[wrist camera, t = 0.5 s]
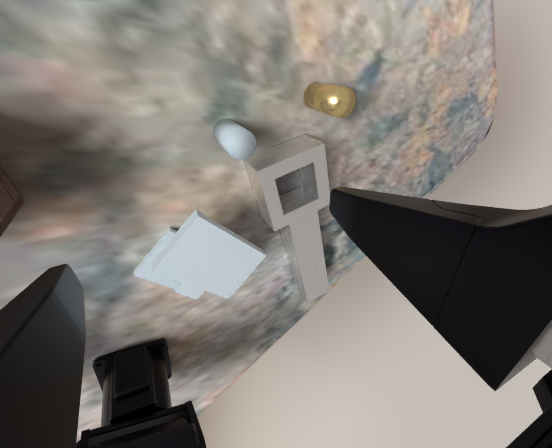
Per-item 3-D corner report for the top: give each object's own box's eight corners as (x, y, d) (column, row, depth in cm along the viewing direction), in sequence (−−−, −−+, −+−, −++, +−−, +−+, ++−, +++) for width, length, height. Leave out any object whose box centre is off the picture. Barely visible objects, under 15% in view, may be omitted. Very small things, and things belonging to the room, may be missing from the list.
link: (243, 159, 22) (257, 171, 20) (305, 133, 24) (324, 142, 21) (284, 291, 33) (296, 309, 31) (325, 269, 35) (339, 284, 32)
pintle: (321, 109, 23) (352, 118, 20) (302, 108, 22) (330, 117, 19) (326, 83, 22) (358, 88, 19) (305, 81, 21) (336, 86, 18)
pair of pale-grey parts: (243, 274, 29) (261, 306, 25) (139, 298, 25) (142, 340, 21) (252, 119, 21) (279, 133, 17) (101, 115, 17) (96, 132, 13)
